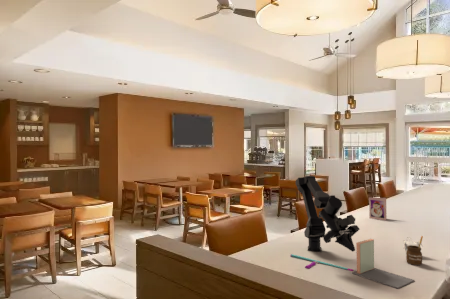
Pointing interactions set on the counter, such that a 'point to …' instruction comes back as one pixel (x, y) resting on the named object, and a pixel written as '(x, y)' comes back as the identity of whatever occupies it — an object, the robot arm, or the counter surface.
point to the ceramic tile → (365, 255)
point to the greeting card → (377, 208)
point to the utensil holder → (414, 254)
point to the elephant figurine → (411, 244)
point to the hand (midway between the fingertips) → (354, 250)
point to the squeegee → (317, 262)
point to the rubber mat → (385, 278)
